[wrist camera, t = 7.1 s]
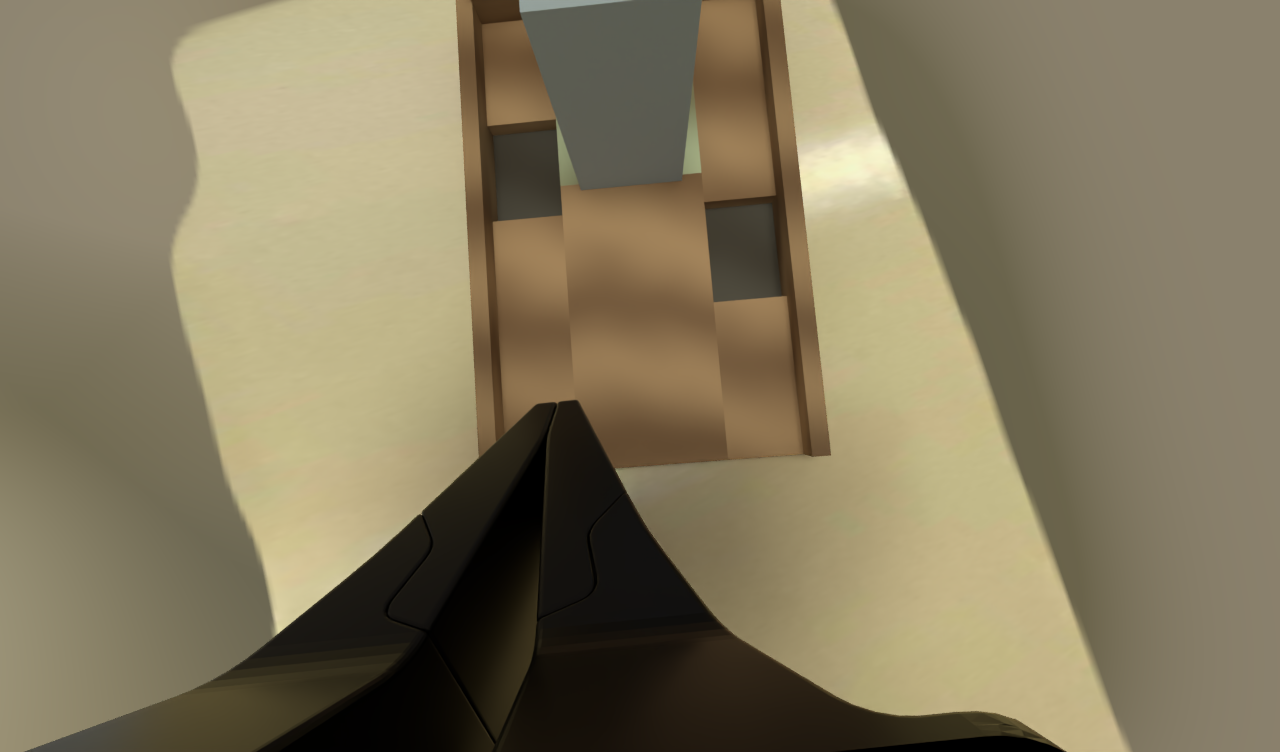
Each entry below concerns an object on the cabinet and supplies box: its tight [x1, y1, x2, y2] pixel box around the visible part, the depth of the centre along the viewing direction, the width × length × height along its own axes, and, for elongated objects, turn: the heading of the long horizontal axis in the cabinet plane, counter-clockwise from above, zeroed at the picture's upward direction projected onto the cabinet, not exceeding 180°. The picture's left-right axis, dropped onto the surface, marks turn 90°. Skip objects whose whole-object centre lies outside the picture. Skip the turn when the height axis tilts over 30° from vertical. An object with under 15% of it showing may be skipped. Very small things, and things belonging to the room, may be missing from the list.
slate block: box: [519, 0, 702, 190], centre depth 18 cm, size 8×5×10 cm, turn 5°
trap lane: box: [456, 0, 831, 468], centre depth 21 cm, size 24×16×4 cm, turn 5°
